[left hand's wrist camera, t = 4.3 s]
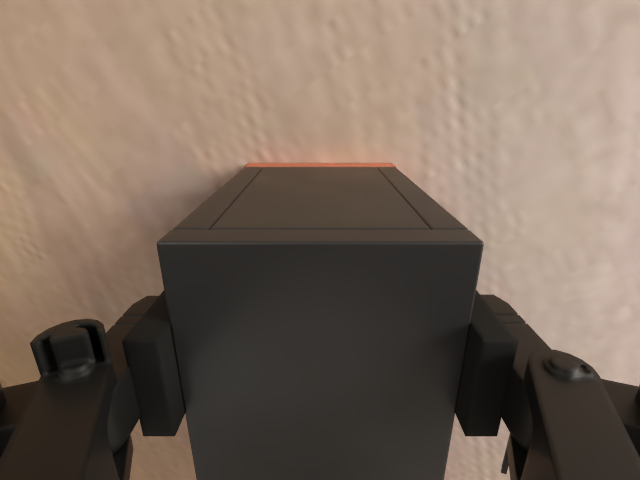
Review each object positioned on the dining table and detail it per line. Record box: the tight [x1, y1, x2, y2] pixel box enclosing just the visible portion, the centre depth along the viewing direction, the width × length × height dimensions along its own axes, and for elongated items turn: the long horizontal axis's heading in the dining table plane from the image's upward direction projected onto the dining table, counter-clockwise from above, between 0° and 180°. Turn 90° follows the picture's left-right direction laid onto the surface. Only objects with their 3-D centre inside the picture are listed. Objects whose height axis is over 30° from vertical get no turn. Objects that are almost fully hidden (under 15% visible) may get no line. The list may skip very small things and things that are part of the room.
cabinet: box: [157, 163, 484, 480], centre depth 15 cm, size 16×7×11 cm, turn 0°
